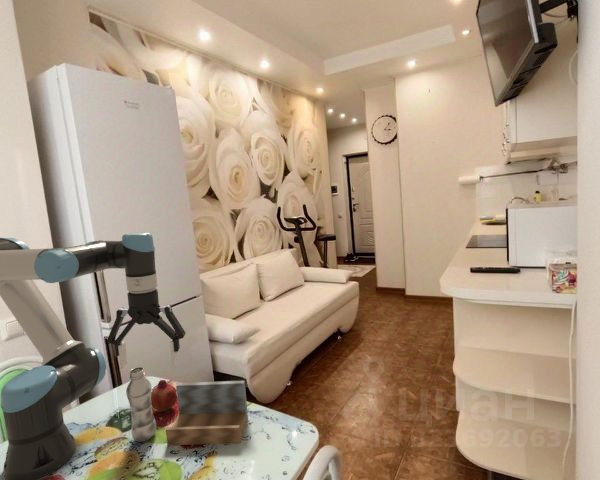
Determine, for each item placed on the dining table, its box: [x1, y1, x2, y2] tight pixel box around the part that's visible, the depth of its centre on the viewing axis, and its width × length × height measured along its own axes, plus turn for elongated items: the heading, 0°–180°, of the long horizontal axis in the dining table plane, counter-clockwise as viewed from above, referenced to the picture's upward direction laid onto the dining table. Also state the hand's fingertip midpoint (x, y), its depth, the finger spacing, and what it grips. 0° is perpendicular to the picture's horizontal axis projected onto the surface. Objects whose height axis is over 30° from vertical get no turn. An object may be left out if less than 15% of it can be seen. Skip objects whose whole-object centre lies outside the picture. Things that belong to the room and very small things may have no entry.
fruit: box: [151, 379, 178, 412], centre depth 111 cm, size 8×8×10 cm
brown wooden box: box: [165, 380, 249, 446], centre depth 98 cm, size 20×10×12 cm, turn 87°
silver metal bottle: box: [125, 366, 157, 443], centre depth 97 cm, size 6×7×20 cm
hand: (149, 364), depth 97 cm, fingers open, 13 cm apart
